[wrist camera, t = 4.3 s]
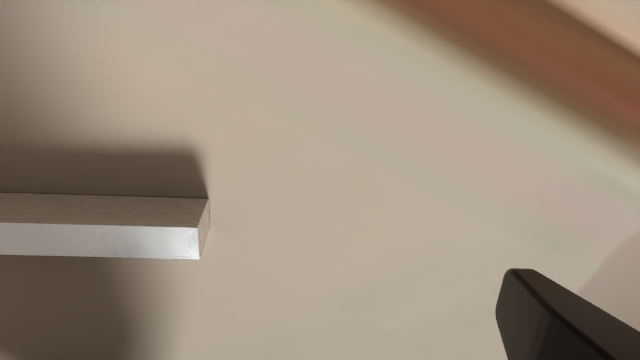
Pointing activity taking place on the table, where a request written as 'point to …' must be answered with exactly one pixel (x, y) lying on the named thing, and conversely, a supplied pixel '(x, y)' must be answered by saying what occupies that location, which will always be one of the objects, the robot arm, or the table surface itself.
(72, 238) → the guide channel
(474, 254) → the table surface
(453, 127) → the table surface
